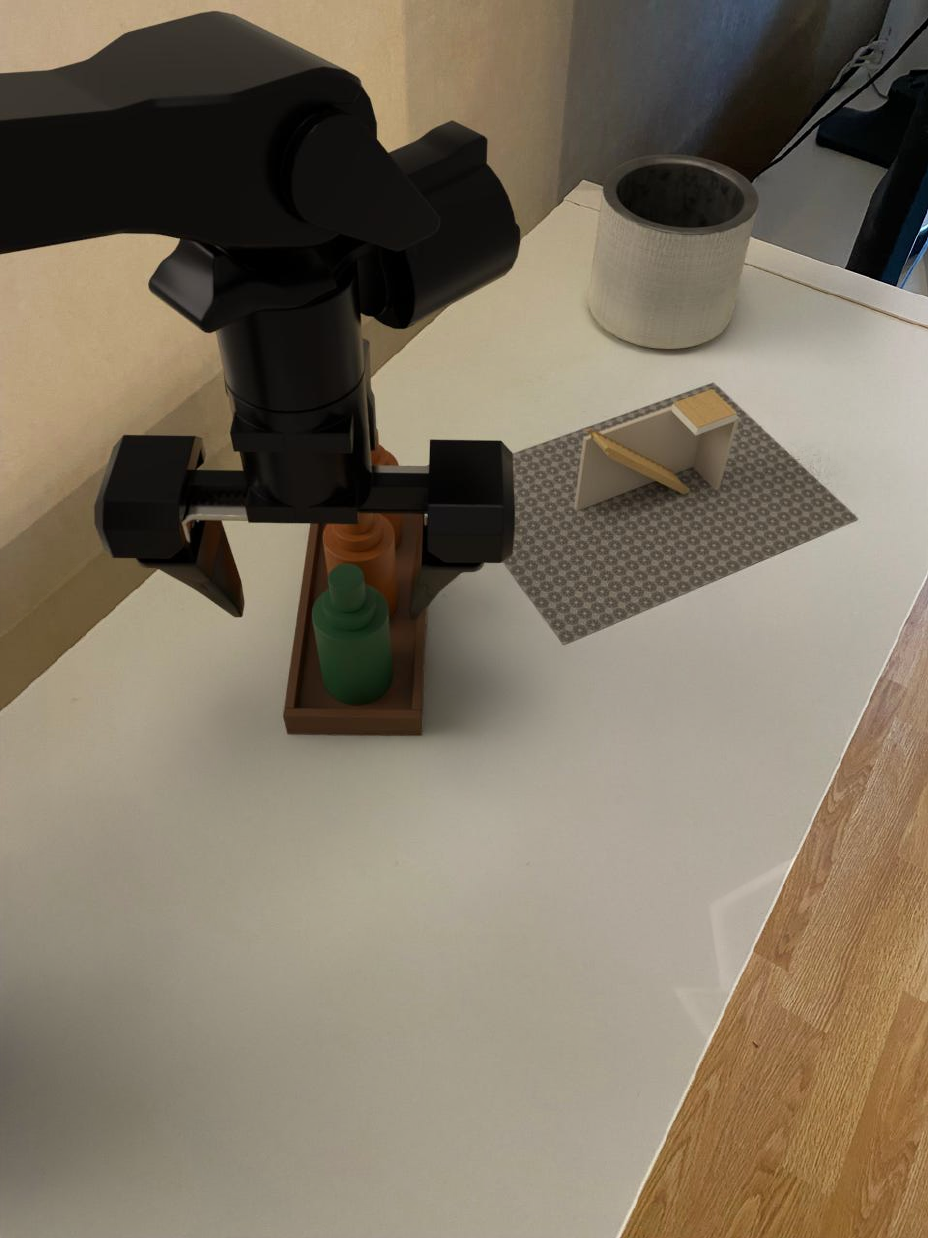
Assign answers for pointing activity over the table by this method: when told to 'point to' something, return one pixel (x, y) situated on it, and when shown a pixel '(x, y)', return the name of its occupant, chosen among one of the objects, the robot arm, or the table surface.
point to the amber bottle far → (388, 459)
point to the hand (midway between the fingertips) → (327, 611)
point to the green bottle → (353, 638)
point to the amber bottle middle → (366, 552)
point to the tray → (404, 698)
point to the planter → (670, 250)
